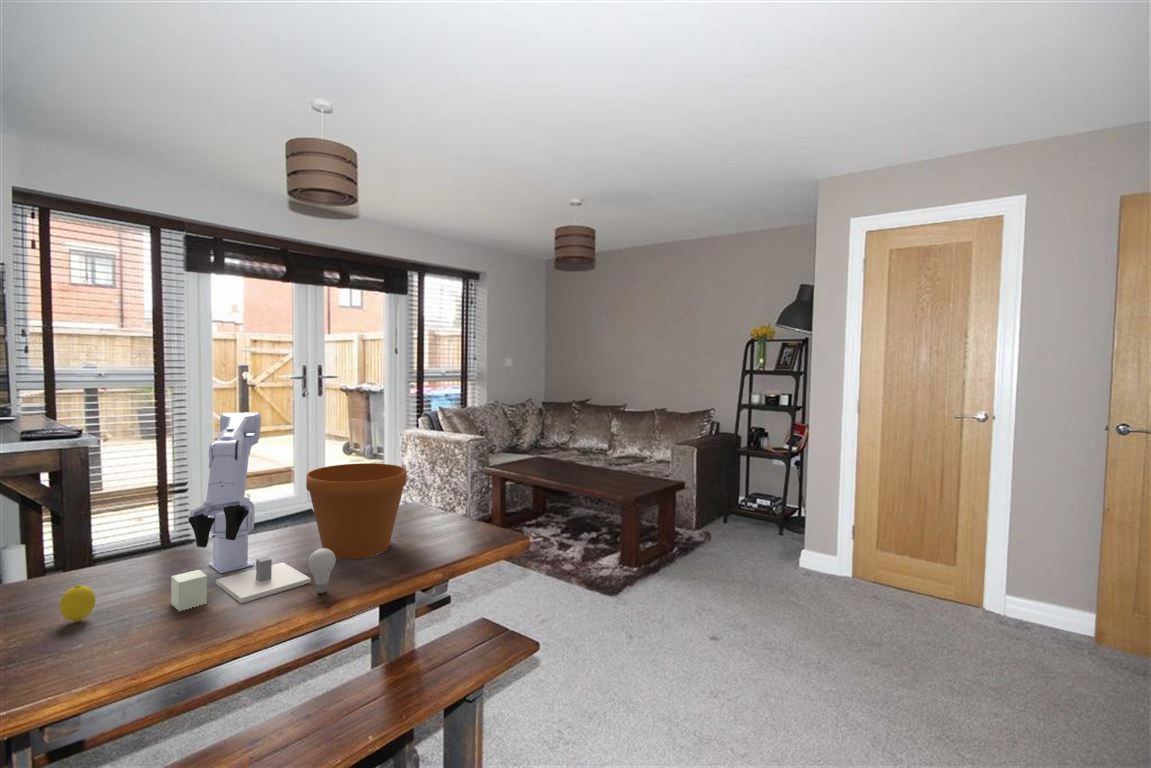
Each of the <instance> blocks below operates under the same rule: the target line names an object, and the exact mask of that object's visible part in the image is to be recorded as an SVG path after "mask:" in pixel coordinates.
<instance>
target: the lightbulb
mask: <svg viewBox="0 0 1151 768" xmlns="http://www.w3.org/2000/svg"><path fill="white" fill-rule="evenodd" d="M336 560H337V559H336V557H335V554H334V553H333V552H332V551H331V550H329V549H326V548H318V549H316V550H314V551H313V552H312V553H311V554H310V556H309V558H308V563H307V565H308V569H309V570H310V572H311V574H312V575H313V579H314V584H315V592H316V593H318V594H320V593H321V594H325V592H328V586H329V585H328V584H329V581H330V576H331V572H332V570H333V569H334V567H335V565H336Z"/></svg>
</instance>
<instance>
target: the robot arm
mask: <svg viewBox="0 0 1151 768" xmlns="http://www.w3.org/2000/svg"><path fill="white" fill-rule="evenodd" d="M261 428H262V416H261V413H260V412H258V411H256V412H225V411H224V412H223V413H221V415H220V417H219V432H220V433H219V435H218V437H217V439H216V440H214V442H210V444H209V447H208V469H209V475H208V484H207V490H206V491H207V493H206V499H205V500H206V501H204V502H203V503H202V505H200V506H199V507H197V508H194V509H192V510H190V511H189V517H188V519H187V520H188V522H189V525H191V528H192V531H193V533H194V537H195V543H196V547H197V548H207V546H208V543H209V538H210V533H211V535H214V537H213V538H214V539H213V542H212V561H211V562H209V563H208V565H209V566H210V567H212V569H215V570H216V571H217V572H219V574H223V573H229V572H233V571H237V570H241V569H245V568H249V567H253V566H254V565H255V564H254V563H253V562H252V561H250V560H249V532H251V531H252V530H254V527H255V504H254V503H253V501H251V499H250V498H249V497H245V496H246V495H245V494H246V484H247V477H248V476H247V475H248V465H249V458H250V453H251V450H252V446H255V445H256V444H258V443H259V439H260V437H261ZM209 516H210V517H209Z"/></svg>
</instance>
